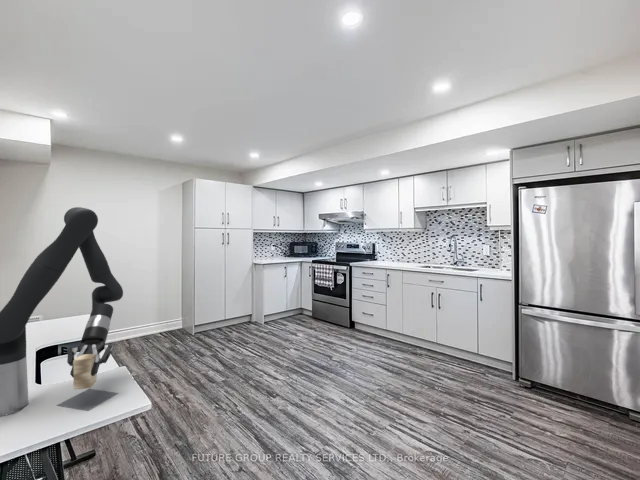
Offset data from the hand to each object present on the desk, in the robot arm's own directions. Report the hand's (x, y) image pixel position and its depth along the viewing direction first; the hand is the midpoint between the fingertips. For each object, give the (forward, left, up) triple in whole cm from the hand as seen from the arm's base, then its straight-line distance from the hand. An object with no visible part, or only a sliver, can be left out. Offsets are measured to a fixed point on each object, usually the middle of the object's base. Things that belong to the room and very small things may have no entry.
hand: (83, 375), depth 110 cm
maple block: (-1, +2, -4) cm, 5 cm away
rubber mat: (-3, +4, -11) cm, 12 cm away
